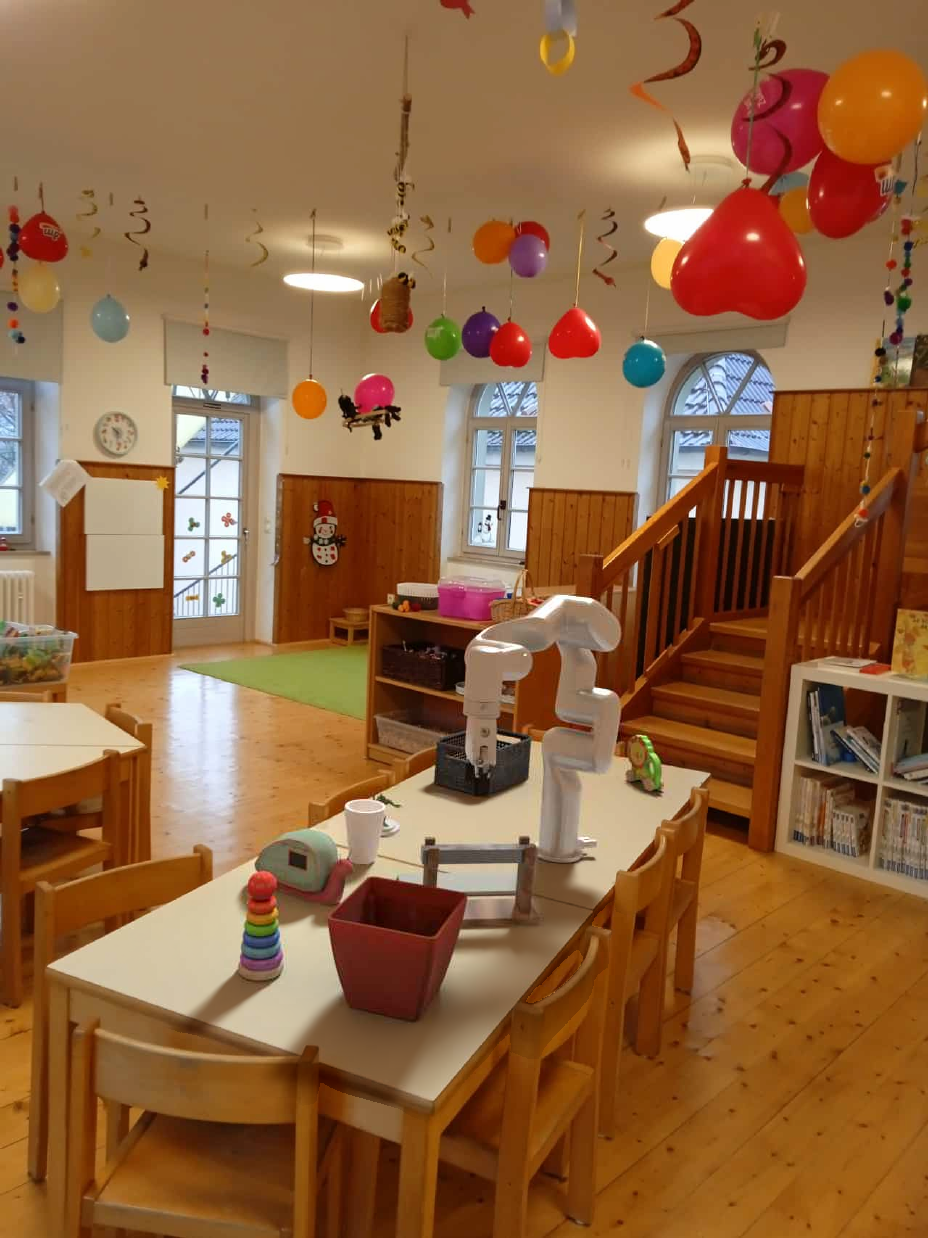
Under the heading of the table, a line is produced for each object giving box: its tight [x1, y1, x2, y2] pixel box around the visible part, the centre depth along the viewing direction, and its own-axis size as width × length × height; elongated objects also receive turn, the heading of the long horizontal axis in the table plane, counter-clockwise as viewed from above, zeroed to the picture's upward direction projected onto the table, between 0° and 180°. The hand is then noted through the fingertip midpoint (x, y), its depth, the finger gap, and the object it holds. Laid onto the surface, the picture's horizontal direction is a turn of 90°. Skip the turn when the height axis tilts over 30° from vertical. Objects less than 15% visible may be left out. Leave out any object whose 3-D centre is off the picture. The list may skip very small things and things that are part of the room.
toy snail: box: [254, 828, 354, 906], centre depth 200 cm, size 25×8×14 cm, turn 58°
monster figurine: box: [371, 789, 403, 837], centre depth 240 cm, size 12×12×10 cm
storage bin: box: [433, 728, 532, 795], centre depth 286 cm, size 29×19×13 cm
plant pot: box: [327, 875, 469, 1022], centre depth 161 cm, size 19×19×17 cm
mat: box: [396, 871, 517, 896], centre depth 209 cm, size 28×10×1 cm, turn 101°
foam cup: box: [344, 798, 387, 865], centre depth 219 cm, size 10×9×13 cm
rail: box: [420, 843, 539, 866], centre depth 193 cm, size 24×3×3 cm, turn 101°
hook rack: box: [423, 835, 541, 927], centre depth 194 cm, size 25×9×16 cm, turn 101°
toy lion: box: [625, 734, 665, 792], centre depth 291 cm, size 16×5×15 cm, turn 25°
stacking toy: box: [237, 871, 285, 982], centre depth 166 cm, size 8×8×19 cm
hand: (476, 788), depth 193 cm, fingers open, 9 cm apart
